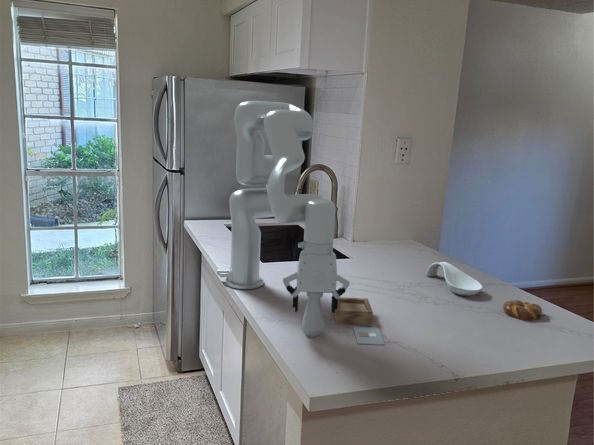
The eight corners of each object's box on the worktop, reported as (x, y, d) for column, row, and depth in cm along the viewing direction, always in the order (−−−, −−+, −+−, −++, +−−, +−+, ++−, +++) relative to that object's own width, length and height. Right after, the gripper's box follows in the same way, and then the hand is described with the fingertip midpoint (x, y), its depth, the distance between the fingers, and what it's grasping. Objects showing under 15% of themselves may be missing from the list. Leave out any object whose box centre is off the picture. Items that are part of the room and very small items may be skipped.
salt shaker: (300, 328, 141) (303, 283, 138) (321, 328, 141) (324, 283, 138) (302, 338, 135) (305, 291, 132) (324, 338, 136) (327, 291, 133)
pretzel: (529, 307, 167) (531, 296, 166) (550, 321, 156) (552, 310, 155) (494, 307, 164) (496, 296, 164) (514, 322, 154) (516, 310, 153)
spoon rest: (488, 297, 173) (491, 277, 171) (461, 301, 168) (463, 280, 166) (442, 274, 194) (444, 256, 192) (416, 277, 189) (418, 258, 187)
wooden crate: (336, 323, 145) (337, 310, 144) (333, 309, 155) (334, 296, 154) (371, 325, 145) (372, 311, 144) (366, 311, 155) (367, 298, 154)
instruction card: (357, 344, 134) (357, 342, 133) (352, 327, 143) (353, 326, 143) (384, 345, 134) (384, 343, 134) (378, 328, 143) (378, 327, 143)
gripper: (284, 250, 129) (281, 315, 132) (353, 253, 129) (349, 317, 133) (284, 242, 136) (281, 304, 140) (350, 245, 136) (345, 306, 140)
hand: (314, 310), depth 136 cm, fingers open, 9 cm apart
